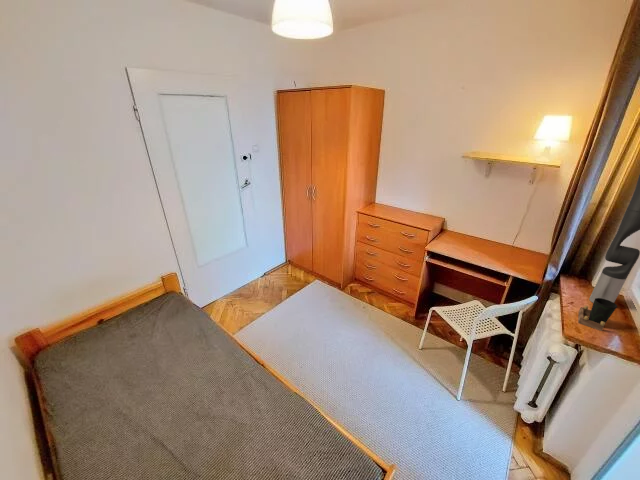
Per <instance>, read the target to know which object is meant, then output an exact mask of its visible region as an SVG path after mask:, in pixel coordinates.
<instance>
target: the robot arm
mask: <svg viewBox="0 0 640 480" xmlns="http://www.w3.org/2000/svg"><path fill="white" fill-rule="evenodd" d="M638 231H640V173H639V175H638V178H637V181H636V186H635V188H634V191H633V193H632V197H631V198H630V202H629V204H628V205H627V208H626V209H625V212H624V214H623V216H622V219H621V221H620V224H619V226H618V229H617V232H616V234H615V236H614V237H613V239H612V241H611V242H610V245H609V247H608V248H607V250H606V253H605V255H604V258H605V260H606V261H607V262H610V263H615V264H619V265H617V266H605V267H604V268H603V269H602V270H601V272H600V275H599V278H598V280H597V282H596V284H595V285H594V288H593V289H592V292H591V295H590V296H589V301H590V302H591V303H592V304H593V303H594V300H595V298H602V299H606V300H609V301H611V302H613V303H615V302H616V300H617V298H618V297H619V295H620V293H621V290H622V289H623V286H624V284H625V283H626V281H627V278H628V276H629V275H630V273H631V271H632V269H633V267H634V266H635V264H636V263H637V261H638V259H639V257H640V250H639V248H635V247H631V246H626V245H625V246H624V245H621V244H622V243H623V242H624V241H625V240H626V239H627V238H628V237H630V236H632V235H633V234H635V233H637V232H638Z"/></svg>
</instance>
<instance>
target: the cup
mask: <svg viewBox="0 0 640 480" xmlns="http://www.w3.org/2000/svg"><path fill="white" fill-rule="evenodd" d="M617 308H618V305H617V303H615V302H614V303H613V302H611V301H609V300H606V299H602V298H595V300H594V303H593V302H592V306H591V312H590V315H589V316H588V317H589V318H588V320H590V321H593V322H596V323H599V324H600V323H601V321H603V322H605V324H606V323H607V322H608V320H609V319H610V318H611V316H612V315H613V314H614V312H615V311H616V309H617Z"/></svg>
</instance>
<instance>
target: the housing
mask: <svg viewBox="0 0 640 480" xmlns="http://www.w3.org/2000/svg"><path fill="white" fill-rule="evenodd" d="M590 312H591V310H590V309H589V306H588V305H584V306H583V307H580V308H579V310H578V319H577V320H578V321H577V323H578V324H580V325H582V326H586V327H588V328H591V329H595V330H597V331H600V332H603V330H604V327H605V324H606V323H605V322H603V321H601V323H600V324H599V323H596V322H593V321H590V320H588V319H589V315H590Z"/></svg>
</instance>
